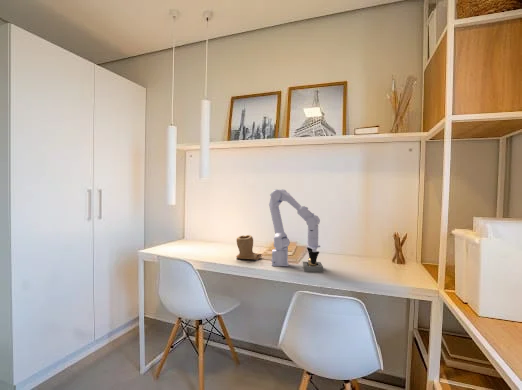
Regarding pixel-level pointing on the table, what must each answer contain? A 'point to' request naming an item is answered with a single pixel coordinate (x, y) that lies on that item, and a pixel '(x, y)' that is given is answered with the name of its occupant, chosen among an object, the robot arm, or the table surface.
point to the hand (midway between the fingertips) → (312, 262)
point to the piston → (310, 262)
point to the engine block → (312, 267)
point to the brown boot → (246, 248)
